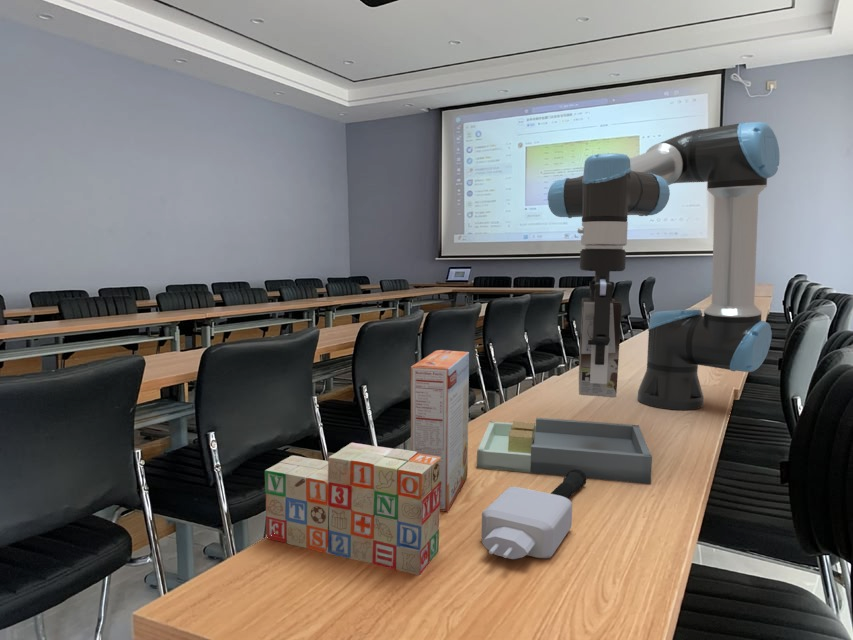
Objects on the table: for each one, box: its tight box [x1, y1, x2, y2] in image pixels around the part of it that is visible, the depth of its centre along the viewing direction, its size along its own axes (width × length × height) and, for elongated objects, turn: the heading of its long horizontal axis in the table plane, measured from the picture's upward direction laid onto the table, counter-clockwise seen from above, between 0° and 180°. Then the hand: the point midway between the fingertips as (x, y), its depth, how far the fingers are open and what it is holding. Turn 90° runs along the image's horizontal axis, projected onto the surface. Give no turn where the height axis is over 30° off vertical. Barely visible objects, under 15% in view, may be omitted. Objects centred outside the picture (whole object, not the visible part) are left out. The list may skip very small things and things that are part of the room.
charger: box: [480, 486, 573, 560], centre depth 76 cm, size 5×9×15 cm
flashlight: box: [550, 469, 588, 500], centre depth 90 cm, size 3×16×3 cm, turn 149°
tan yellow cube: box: [508, 429, 533, 453], centre depth 108 cm, size 4×4×4 cm
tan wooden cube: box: [511, 421, 536, 445], centre depth 113 cm, size 4×4×4 cm
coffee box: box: [578, 297, 623, 399], centre depth 106 cm, size 9×6×16 cm
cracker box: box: [410, 349, 470, 512], centre depth 92 cm, size 14×6×21 cm, turn 164°
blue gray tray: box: [529, 417, 653, 485], centre depth 108 cm, size 19×18×4 cm
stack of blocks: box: [264, 442, 441, 576], centre depth 75 cm, size 21×6×12 cm, turn 68°
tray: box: [476, 421, 536, 474], centre depth 111 cm, size 9×18×3 cm, turn 167°
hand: (597, 377), depth 107 cm, fingers closed on coffee box, 9 cm apart
